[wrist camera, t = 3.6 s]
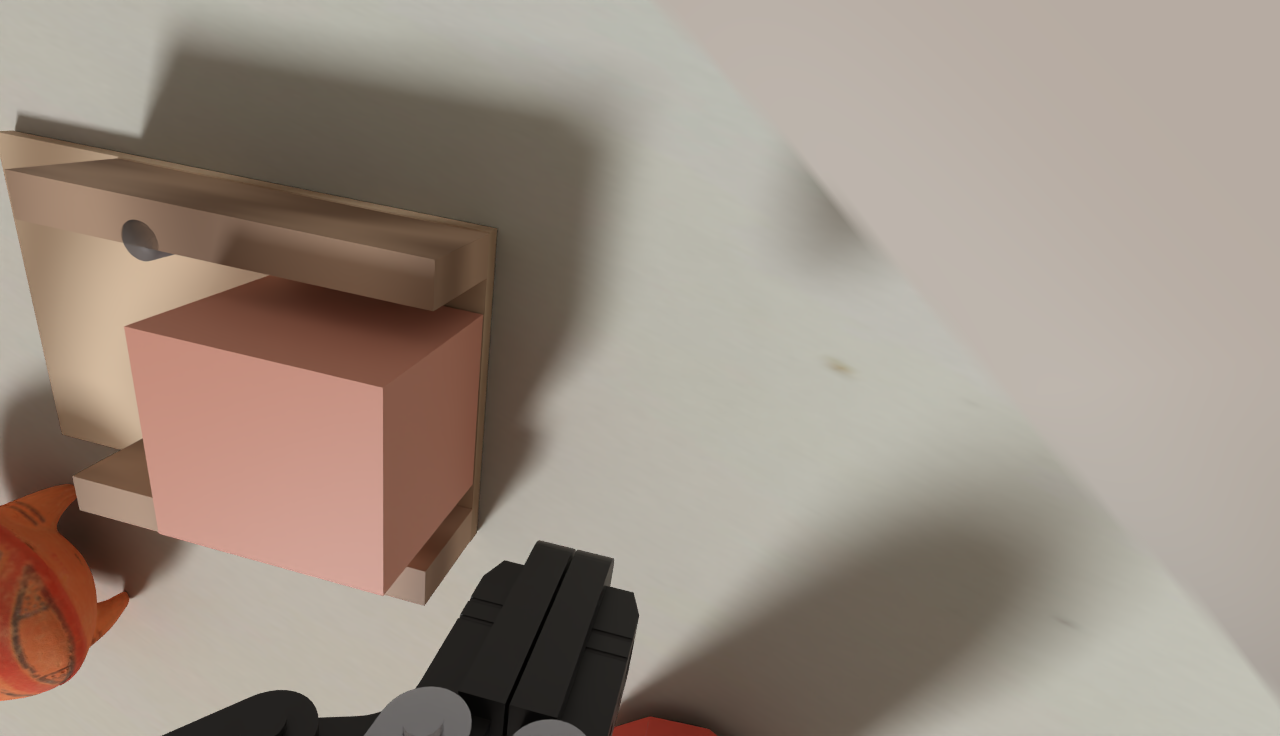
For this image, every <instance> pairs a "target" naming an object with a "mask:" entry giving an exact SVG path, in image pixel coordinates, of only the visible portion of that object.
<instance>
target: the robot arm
mask: <svg viewBox="0 0 1280 736" xmlns="http://www.w3.org/2000/svg"><path fill="white" fill-rule="evenodd" d="M613 566H614V558H610V557H606V556H602V555H598V554H593V553H589V552H585V551H581V550H577V551H575V549H573V548H569V547H564V546H560V545H556V544H552V543H548V542H544V541H540V540H539V541H537V543H536V544H535V546H534V548H533V550H532V551H531V553H530V555H529V557H528V559H527V561H526V563H525V565H521V564H517V563H513V562H509V561H505V560H504V561H503V562H502V563H500V564H499V565H498V566H496V567H495V568H493V569H492V570H491V571H489V572H488V573H487V574H485V575H484V576H483V577H482V579H481V581H480V582H479V584H478V586H477V587H476V589H475V591H474V592H473V594H472V596H471V599H470V601H468V603H467V604H466V606H465V608H464V609H463V611H462V613H461V615H460V618H458V619H457V621H456V623H455V624H454V626H453V628H452V629H451V631H450V633H449V634H448V636H447V638H446V639H445V641H444V643H443V644H442V646H441V648H440V649H439V651H438V653H437V654H436V656H435V658H434V659H433V661H432V663H431V665H430V666H429V668H428V670H427V671H426V673H425V675H424V676H423V678H422V680H421V681H420V683H419V684H418V686H417V687H416V688H415V689H413V690H410V691H407V692H405V693H403V694H401V695H399V696H398V697H396V698H395V699H393V700H392V701H391V702H390V703H389V704H388V705H387V706H386V707H385V708H384V709H383V710H382V711H381V712H378V713H375V714H370V715H365V716H351V717H326V718H318V713H317V710H316V707H315V706H314V704H313V703H312V701H311V700H309V699H308V698H307V697H306V696H304V695H302V694H300V693H297V692H294V691H288V690H275V691H268V692H264V693H260V694H257V695H255V696H252V697H249V698H247V699H245V700H242V701H240V702H238V703H236V704H233V705H231V706H229V707H226V708H224V709H222V710H220V711H217V712H215V713H213V714H210V715H208V716H206V717H204V718H201V719H199V720H197V721H194V722H192V723H190V724H188V725H185V726H183V727H181V728H178V729H176V730H174V731H172V732H169V733H167V734H165V735H162V736H612V734H613V730H614V726H615V722H616V718H617V714H618V710H619V707H620V703H621V698H622V695H623V691H624V687H625V683H626V679H627V675H628V670H629V665H630V660H631V655H632V650H633V645H634V639H635V634H636V629H637V624H638V619H639V613H638V609H637V605H636V601H635V597H634V593H633V592H629V591H625V590H621V589H617V588H613V587H610V584H611V578H612V572H613Z"/></svg>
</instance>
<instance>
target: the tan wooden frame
mask: <svg viewBox="0 0 1280 736" xmlns="http://www.w3.org/2000/svg"><path fill="white" fill-rule="evenodd" d="M0 158H1V162H2V167H3V171H4V176H5V180H6V185H7V189H8V194H9V198H10V203H11V207H12V212H13V216H14V221H15V225H16V230H17V234H18V239H19V243H20V248H21V252H22V257H23V261H24V266H25V270H26V275H27V279H28V284H29V288H30V293H31V297H32V302H33V306H34V311H35V315H36V320H37V324H38V329H39V333H40V338H41V342H42V347H43V351H44V356H45V360H46V365H47V369H48V374H49V378H50V383H51V387H52V392H53V396H54V401H55V405H56V410H57V414H58V419H59V423H60V428H61V432H62V435H66V436H70V437H74V438H77V439H81V440H85V441H89V442H93V443H96V444H100V445H104V446H108V447H112V448H115V449H119V450H120V451H118V452H116V453H114V454H112V455H111V456H109V457H107V458H105V459H103V460H101V461H99V462H98V463H96V464H94V465H92V466H90V467H88V468H86V469H84V470H83V471H81V472H79V473H77V474H75V475H73V476H72V477H73V482H74V486H75V491H76V495H77V500H78V504H79V509H80V510H81V511H85V512H89V513H92V514H96V515H99V516H103V517H107V518H110V519H114V520H117V521H121V522H125V523H128V524H132V525H135V526H139V527H143V528H146V529H150V530H153V531H157V532H158V527H157V521H156V515H155V509H154V503H153V497H152V491H151V485H150V479H149V473H148V467H147V461H146V455H145V449H144V443H143V437H142V431H141V425H140V419H139V413H138V407H137V401H136V395H135V389H134V383H133V378H132V372H131V366H130V360H129V354H128V348H127V342H126V336H125V330H124V326H126V325H129V324H132V323H135V322H138V321H141V320H143V319H146V318H149V317H152V316H155V315H158V314H160V313H163V312H166V311H169V310H172V309H175V308H178V307H180V306H183V305H186V304H189V303H192V302H195V301H197V300H200V299H203V298H206V297H209V296H212V295H215V294H217V293H220V292H223V291H226V290H229V289H232V288H234V287H237V286H240V285H243V284H246V283H249V282H252V281H254V280H257V279H260V278H263V277H266V276H269V275H271V276H275V277H280V278H284V279H289V280H293V281H298V282H302V283H307V284H312V285H316V286H321V287H325V288H330V289H334V290H339V291H343V292H348V293H352V294H357V295H361V296H366V297H371V298H375V299H380V300H384V301H389V302H393V303H398V304H402V305H407V306H411V307H416V308H420V309H425V310H430V311H435V310H436V309H438V308H440V307H441V306H446V307H451V308H455V309H460V310H465V311H469V312H474V313H478V314H483V325H482V341H481V357H480V373H479V389H478V406H477V422H476V438H475V454H474V470H473V485H472V486H471V487H470V488H469V490H468V491H467V492H466V493H465V495H464V496H463V497H462V498H461V500H460V501H459V502H458V503H457V504H456V506H455V507H454V508H453V509H452V511H451V512H450V513H449V514H448V516H447V517H446V518H445V519H444V521H443V522H442V523H441V524H440V526H439V527H438V528H437V529H436V531H435V532H434V533H433V534H432V536H431V537H430V538H429V539H428V541H427V542H426V543H425V544H424V546H423V547H422V548H421V549H420V551H419V552H418V553H417V554H416V556H415V557H414V558H413V559H412V561H411V562H410V563H409V564H408V566H407V567H406V568H405V569H404V571H403V572H402V573H401V574H400V576H399V577H398V578H397V579H396V581H395V582H394V583H393V584H392V586H391V587H390V588H389V589H388V591H387V592H386V593H385V594H384V595H388V596H391V597H395V598H398V599H402V600H406V601H409V602H413V603H416V604H420V605H424V606H425V604H426V603H427V601H428V600H429V599H430V597H431V596H432V594H433V593H434V591H435V590H436V589H437V587H438V586H439V584H440V583H441V582H442V580H443V579H444V577H445V576H446V574H447V573H448V572H449V570H450V569H451V567H452V566H453V564H454V563H455V562H456V560H457V559H458V557H459V556H460V555H461V553H462V552H463V550H464V549H465V547H466V546H467V545H468V543H469V542H471V540H472V539H473V537H474V536H475V534H476V533H477V523H478V508H479V493H480V478H481V463H482V448H483V433H484V418H485V403H486V389H487V374H488V359H489V344H490V329H491V314H492V299H493V284H494V269H495V254H496V240H497V228H493V227H488V226H483V225H478V224H473V223H468V222H463V221H458V220H453V219H448V218H443V217H438V216H433V215H428V214H423V213H418V212H413V211H408V210H403V209H398V208H393V207H388V206H384V205H379V204H374V203H369V202H364V201H359V200H354V199H349V198H344V197H339V196H334V195H329V194H324V193H319V192H314V191H309V190H304V189H299V188H294V187H289V186H284V185H280V184H275V183H270V182H265V181H260V180H255V179H250V178H245V177H240V176H235V175H230V174H225V173H220V172H215V171H210V170H205V169H200V168H195V167H190V166H185V165H180V164H175V163H171V162H166V161H161V160H156V159H151V158H146V157H141V156H136V155H131V154H126V153H121V152H116V151H111V150H106V149H101V148H96V147H91V146H86V145H81V144H76V143H71V142H66V141H62V140H57V139H52V138H47V137H42V136H37V135H32V134H27V133H22V132H17V131H0Z"/></svg>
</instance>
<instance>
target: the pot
mask: <svg viewBox="0 0 1280 736" xmlns="http://www.w3.org/2000/svg"><path fill="white" fill-rule="evenodd" d="M76 498H77V495H76V491H75V486H74V485H72V484H63V485H58V486H54V487H50V488H47V489H43V490H40V491H37V492H35V493H32V494H29V495H27V496H24V497H22V498H20V499H17V500H15V501H12V502H10V503H7V504H5V505H1V506H0V701H4V700H12V699H18V698H24V697H29V696H33V695H36V694H40V693H42V692H45V691H48V690H51V689H53V688H55V687H57V686H58V685H62V684H64V683H65V682H67V681H68V680H70V679H71V678H72V677H73V676H74V675H75V674H76V673H77V671H78V670H79V669H80V667H81V665H82V663H83V662H84V660H85V657H86V655H87V653H88V650H89V647H90V646H92V645H93V644H94V643H95V642H96V641H98V640H99V639H100V638H101V637H102V636H103V635H104V634H105V633H106V632H107V631H108V630H109V629H110V628H111V627H112V626H113V625H114V623H115V622H116V621H117V619H118V618H119V617H120V615H121V614H122V612H123V611H124V609H125V608H126V606H127V605H128V602H129V596H128V594H127V592H122V593H120V594H118V595H116V596H114V597H112V598H110V599H108V600H106V601H103V602H99V603H97V597H96V588H95V583H94V579H93V576H92V573H91V571H90V569H89V567H88V565H87V563H86V561H85V559H84V557H83V556H82V555H81V554H80V552H79V551H78V550H77V549H76V548H75V547H74V546H73V545H72V544H71V543H70V542H69V541H68V540H67V539H66V538H65V537H63V536H62V535H61V534H60V533H59V532H58V531H57V523H58V521H59V518H60V517H61V515H62V514H63V512H64V511H65V510H66V508H67V507H68V506H69V505H70V504H71V503H72V502H73V501H74V500H75V499H76Z"/></svg>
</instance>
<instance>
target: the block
mask: <svg viewBox="0 0 1280 736" xmlns="http://www.w3.org/2000/svg"><path fill="white" fill-rule="evenodd" d="M482 325H483V314H478V313H474V312H469V311H465V310H460V309H455V308H451V307H446V306H441V307H440V308H438V309H436V310H435V311H430V310H425V309H420V308H416V307H411V306H407V305H402V304H398V303H393V302H389V301H384V300H380V299H375V298H371V297H366V296H361V295H357V294H352V293H348V292H343V291H339V290H334V289H330V288H325V287H321V286H316V285H312V284H307V283H302V282H298V281H293V280H289V279H284V278H280V277H275V276H271V275H269V276H266V277H263V278H260V279H257V280H254V281H252V282H249V283H246V284H243V285H240V286H237V287H234V288H232V289H229V290H226V291H223V292H220V293H217V294H215V295H212V296H209V297H206V298H203V299H200V300H197V301H195V302H192V303H189V304H186V305H183V306H180V307H178V308H175V309H172V310H169V311H166V312H163V313H160V314H158V315H155V316H152V317H149V318H146V319H143V320H141V321H138V322H135V323H132V324H129V325H126V326H124V330H125V336H126V342H127V348H128V354H129V360H130V366H131V372H132V378H133V383H134V389H135V395H136V401H137V407H138V413H139V419H140V425H141V431H142V437H143V443H144V449H145V455H146V461H147V467H148V473H149V479H150V485H151V491H152V497H153V503H154V509H155V515H156V521H157V527H158V533H159V534H162V535H166V536H169V537H173V538H176V539H180V540H184V541H187V542H191V543H194V544H198V545H202V546H205V547H209V548H212V549H216V550H220V551H223V552H227V553H230V554H234V555H238V556H241V557H245V558H248V559H252V560H256V561H259V562H263V563H266V564H270V565H274V566H277V567H281V568H284V569H288V570H292V571H295V572H299V573H302V574H306V575H309V576H313V577H317V578H320V579H324V580H327V581H331V582H335V583H338V584H342V585H345V586H349V587H353V588H356V589H360V590H363V591H367V592H371V593H374V594H378V595H381V596H384V594H385V593H386V592H387V591H388V589H389V588H390V587H391V586H392V584H393V583H394V582H395V581H396V579H397V578H398V577H399V576H400V574H401V573H402V572H403V571H404V569H405V568H406V567H407V566H408V564H409V563H410V562H411V561H412V559H413V558H414V557H415V556H416V554H417V553H418V552H419V551H420V549H421V548H422V547H423V546H424V544H425V543H426V542H427V541H428V539H429V538H430V537H431V536H432V534H433V533H434V532H435V531H436V529H437V528H438V527H439V526H440V524H441V523H442V522H443V521H444V519H445V518H446V517H447V516H448V514H449V513H450V512H451V511H452V509H453V508H454V507H455V506H456V504H457V503H458V502H459V501H460V500H461V498H462V497H463V496H464V495H465V493H466V492H467V491H468V490H469V488H470V487H471V486H472V485H473V470H474V454H475V438H476V422H477V406H478V389H479V373H480V357H481V341H482Z"/></svg>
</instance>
